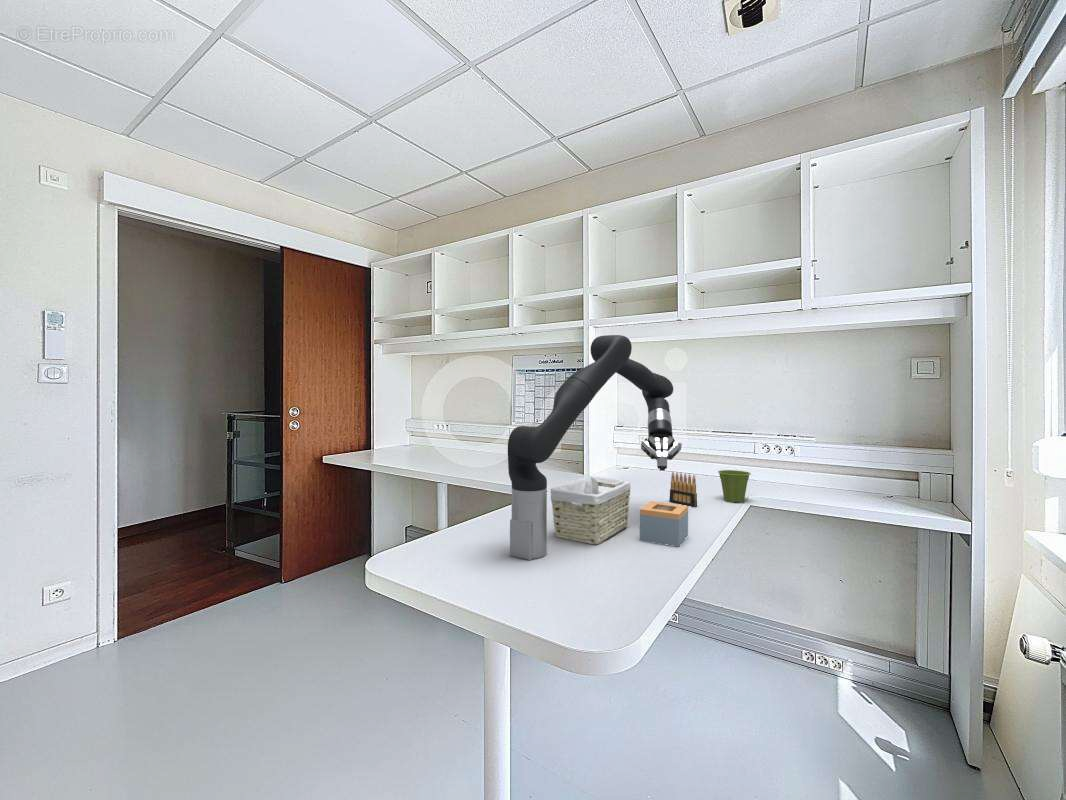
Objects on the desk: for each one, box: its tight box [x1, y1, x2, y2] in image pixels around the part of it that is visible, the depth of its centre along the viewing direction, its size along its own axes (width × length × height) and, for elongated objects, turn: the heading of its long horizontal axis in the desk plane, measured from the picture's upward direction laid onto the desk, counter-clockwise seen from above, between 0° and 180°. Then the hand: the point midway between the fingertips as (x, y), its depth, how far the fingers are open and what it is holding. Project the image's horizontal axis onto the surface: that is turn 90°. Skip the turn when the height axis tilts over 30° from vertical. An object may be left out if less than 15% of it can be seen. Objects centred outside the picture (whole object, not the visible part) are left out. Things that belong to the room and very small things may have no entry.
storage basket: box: [550, 476, 631, 545], centre depth 142 cm, size 24×16×15 cm
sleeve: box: [639, 500, 689, 547], centre depth 136 cm, size 11×11×9 cm
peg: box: [657, 506, 671, 511], centre depth 137 cm, size 4×4×9 cm
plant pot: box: [717, 469, 752, 503], centre depth 184 cm, size 12×12×11 cm
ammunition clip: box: [668, 471, 698, 508], centre depth 178 cm, size 11×2×12 cm, turn 41°
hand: (662, 469), depth 142 cm, fingers closed
